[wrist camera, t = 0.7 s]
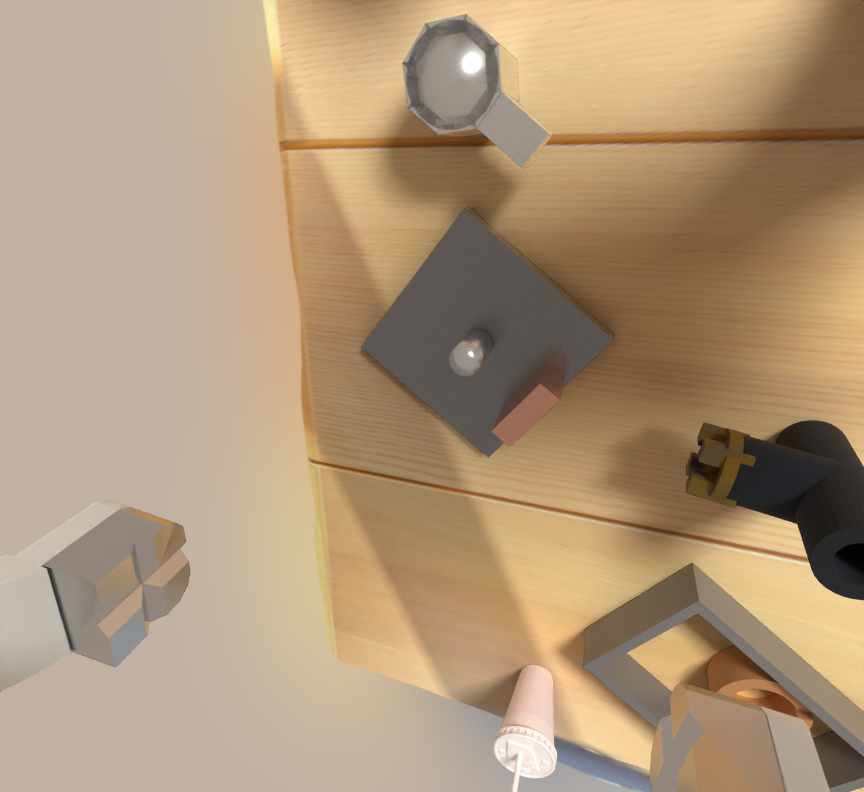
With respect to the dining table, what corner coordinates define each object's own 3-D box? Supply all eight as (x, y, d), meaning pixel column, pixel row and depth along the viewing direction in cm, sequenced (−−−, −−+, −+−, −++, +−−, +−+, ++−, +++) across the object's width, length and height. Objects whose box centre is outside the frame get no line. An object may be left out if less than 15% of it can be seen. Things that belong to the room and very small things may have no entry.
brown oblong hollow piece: (702, 675, 60) (710, 734, 54) (704, 617, 57) (713, 673, 51) (905, 704, 54) (939, 773, 48) (919, 640, 51) (957, 706, 45)
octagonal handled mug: (470, 17, 40) (443, -7, 34) (577, 113, 40) (569, 106, 34) (419, 98, 43) (386, 89, 37) (519, 186, 43) (502, 192, 37)
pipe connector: (683, 443, 48) (683, 544, 35) (704, 389, 46) (712, 476, 33) (831, 485, 45) (890, 614, 32) (861, 429, 42) (938, 544, 30)
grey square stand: (469, 206, 45) (447, 215, 40) (613, 334, 46) (612, 360, 40) (367, 342, 53) (336, 365, 47) (491, 449, 54) (476, 485, 48)
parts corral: (692, 562, 52) (699, 600, 47) (877, 723, 53) (900, 775, 48) (585, 628, 59) (582, 666, 54) (751, 769, 59) (761, 818, 55)
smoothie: (539, 648, 62) (519, 771, 50) (576, 687, 62) (566, 817, 50) (498, 667, 65) (469, 786, 53) (533, 703, 65) (513, 830, 53)
